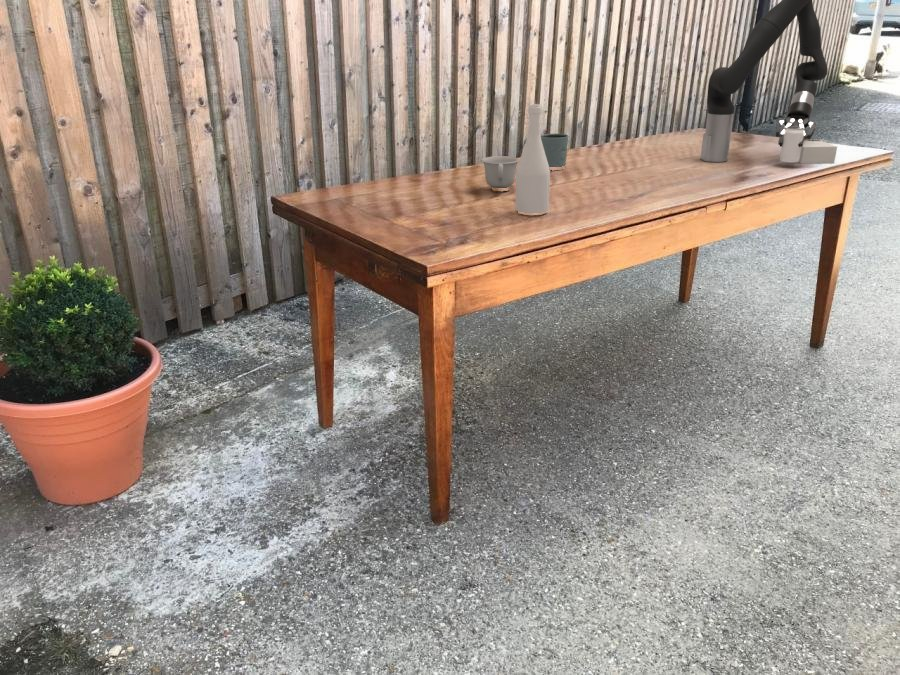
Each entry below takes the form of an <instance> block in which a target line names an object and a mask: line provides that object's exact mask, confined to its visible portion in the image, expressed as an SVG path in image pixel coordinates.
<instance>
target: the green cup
mask: <svg viewBox="0 0 900 675" xmlns="http://www.w3.org/2000/svg"><path fill="white" fill-rule="evenodd" d="M540 135H541V141H542V144H543V148H544V151H545V155H546V158H547V162H548V165H549V167H562V166H565V165H566V164H567V162H566V161H567V155H568V154H567V153H568V144H569V143H568V142H569V135H568V134H567V133H566V134H565V133H545V134H540ZM565 167H566V166H565Z"/></svg>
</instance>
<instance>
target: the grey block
mask: <svg viewBox="0 0 900 675" xmlns="http://www.w3.org/2000/svg"><path fill="white" fill-rule="evenodd" d="M837 151H838V145H835V144H832V143H828V142H825V141H823V140H819V141H818V140H817V141H816V140H815V141H810V140H808V141H804V143H803V146H802V147H801V153H800V158H799V161H798V162H797V163H799V164H801V163H804V164H803V165H805V164H834V163H835V160H836V155H837Z"/></svg>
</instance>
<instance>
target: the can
mask: <svg viewBox="0 0 900 675" xmlns="http://www.w3.org/2000/svg"><path fill="white" fill-rule="evenodd" d="M796 127H797V128H796ZM803 129H804V128H803V127H801V128H800V127H798V126H788V127H787V129H786V130H785V132H784V138H783V143H782V147H781V151H780V155H779V161H780V162H781V163H785V164H796V163H799V162H798V161H799V158H800V153H801V146H800V147H799V146H798V144H799V143H800V142H802V140H803V137H804V131H805V129H804V130H803Z"/></svg>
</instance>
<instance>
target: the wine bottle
mask: <svg viewBox="0 0 900 675" xmlns="http://www.w3.org/2000/svg"><path fill="white" fill-rule="evenodd" d="M542 109H543V108H542V105H541V104H540V103H530V104H529V105H528V107H527V113H528V127H527V128H528V129H527V138H526V141H525V144H524V147H523V150H522V153H521V154H520V158H519V161H518V163H517V166H516V173H515V211H516V210H517V211H519V212H524V213H541V212H546V211H548V212H549V209H550V208H549V207H550V206H549V205H550V188H551V185H550V181H551V171H550V169H549V165H548V162H547V158H546V155H545V151H544V148H543V144H542V141H541V135H542V134H541V119H542V118H541V114H542Z"/></svg>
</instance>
